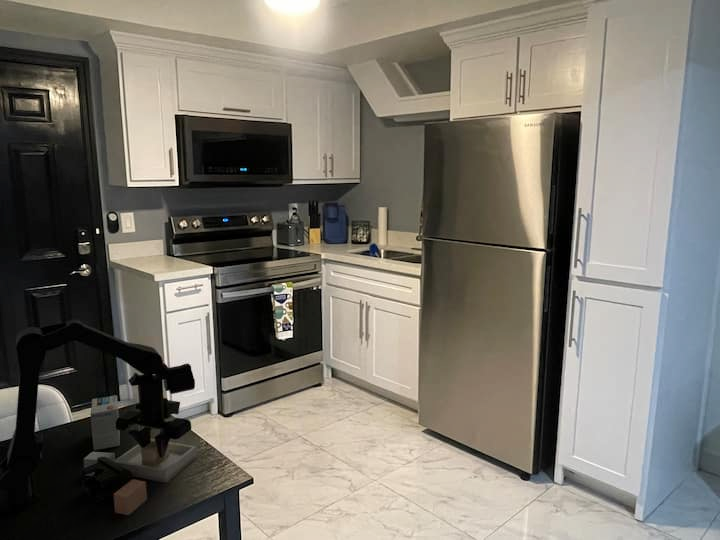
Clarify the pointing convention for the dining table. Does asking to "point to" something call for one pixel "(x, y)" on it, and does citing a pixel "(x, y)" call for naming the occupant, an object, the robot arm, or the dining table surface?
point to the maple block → (152, 455)
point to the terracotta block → (130, 497)
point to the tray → (166, 469)
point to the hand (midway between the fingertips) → (155, 455)
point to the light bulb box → (105, 422)
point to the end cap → (105, 479)
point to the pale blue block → (93, 459)
